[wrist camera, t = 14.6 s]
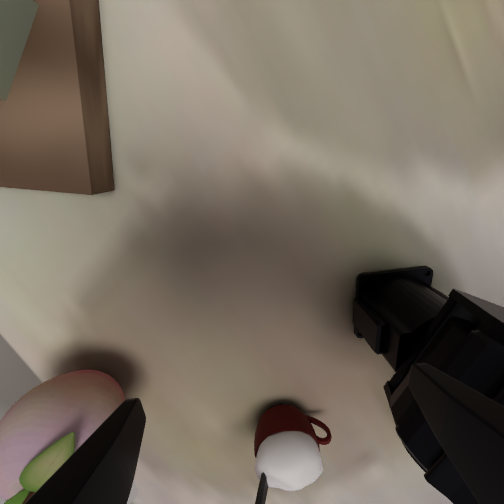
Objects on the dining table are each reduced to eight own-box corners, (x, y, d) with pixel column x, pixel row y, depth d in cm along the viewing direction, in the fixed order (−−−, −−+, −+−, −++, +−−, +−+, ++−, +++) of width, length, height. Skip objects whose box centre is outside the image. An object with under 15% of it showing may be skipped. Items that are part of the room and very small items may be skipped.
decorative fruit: (62, 328, 22) (-72, 454, 12) (154, 355, 23) (98, 485, 14) (44, 402, 24) (-77, 553, 15) (128, 422, 26) (66, 570, 16)
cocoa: (323, 397, 27) (396, 562, 16) (307, 439, 29) (363, 614, 17) (238, 390, 25) (250, 569, 14) (226, 435, 27) (229, 626, 16)
